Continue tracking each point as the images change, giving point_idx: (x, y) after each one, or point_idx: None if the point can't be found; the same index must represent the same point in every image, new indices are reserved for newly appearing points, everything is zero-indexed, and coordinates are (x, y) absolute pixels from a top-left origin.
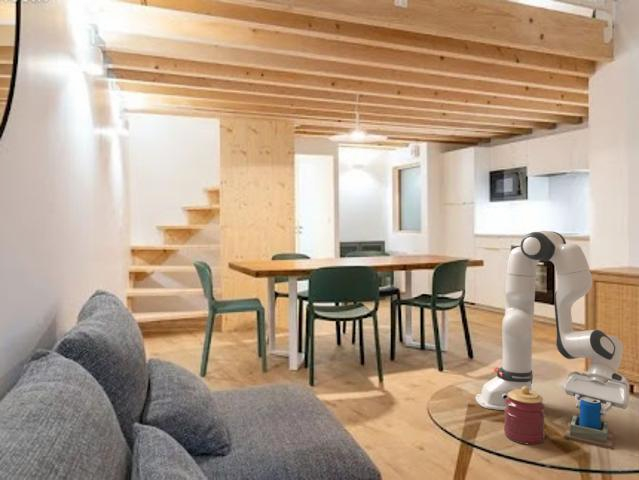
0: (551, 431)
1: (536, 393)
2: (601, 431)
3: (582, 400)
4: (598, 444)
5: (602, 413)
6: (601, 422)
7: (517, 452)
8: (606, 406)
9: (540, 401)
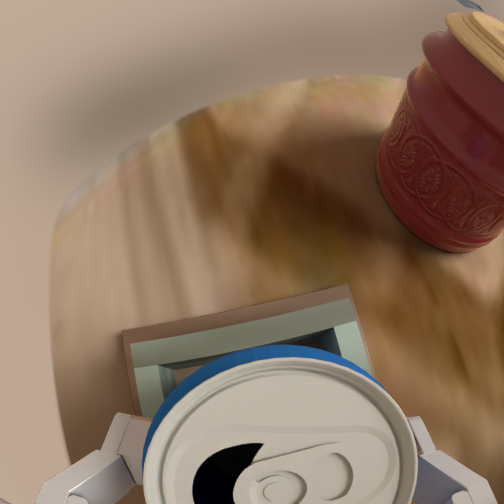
0: (417, 325)
1: None
2: (160, 342)
3: (381, 397)
4: (182, 320)
5: (138, 417)
6: None
7: (371, 89)
8: (86, 475)
9: (451, 26)
